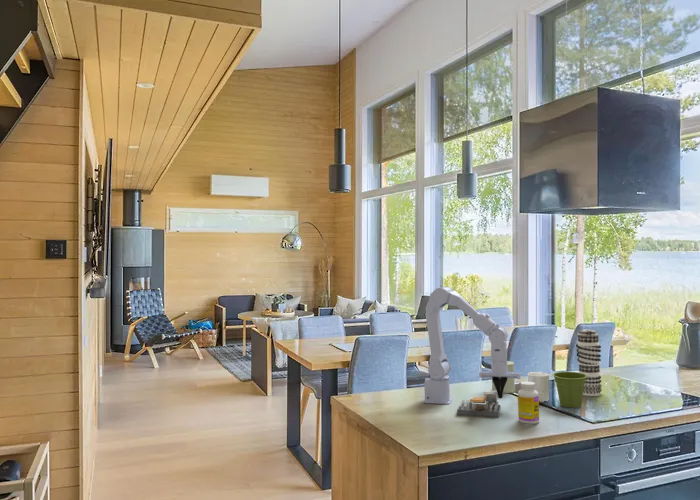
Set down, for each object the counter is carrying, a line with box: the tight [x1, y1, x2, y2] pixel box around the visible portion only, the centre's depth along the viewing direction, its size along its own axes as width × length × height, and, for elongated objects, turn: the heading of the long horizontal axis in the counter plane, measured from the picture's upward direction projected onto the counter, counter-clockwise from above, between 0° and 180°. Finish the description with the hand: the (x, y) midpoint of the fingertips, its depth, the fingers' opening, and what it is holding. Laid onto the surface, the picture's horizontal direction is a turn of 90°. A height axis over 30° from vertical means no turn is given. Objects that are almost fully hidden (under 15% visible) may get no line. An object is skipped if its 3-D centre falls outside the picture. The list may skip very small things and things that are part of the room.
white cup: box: [527, 371, 550, 403], centre depth 216 cm, size 8×8×10 cm
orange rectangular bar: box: [469, 396, 487, 404], centre depth 201 cm, size 4×16×2 cm, turn 161°
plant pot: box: [552, 371, 587, 409], centre depth 207 cm, size 12×12×11 cm
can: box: [491, 360, 516, 394], centre depth 233 cm, size 9×9×12 cm
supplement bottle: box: [517, 381, 540, 425], centre depth 189 cm, size 7×7×13 cm
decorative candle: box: [575, 328, 603, 397], centre depth 224 cm, size 9×9×25 cm
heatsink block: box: [456, 399, 502, 419], centre depth 201 cm, size 14×10×4 cm
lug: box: [484, 389, 498, 405], centre depth 208 cm, size 4×5×5 cm
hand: (500, 397), depth 208 cm, fingers closed
